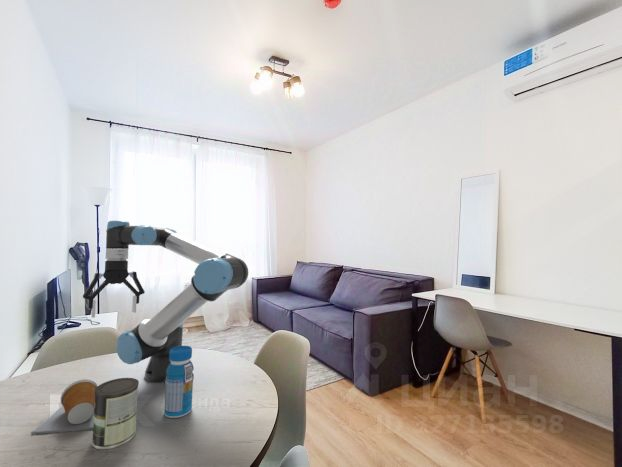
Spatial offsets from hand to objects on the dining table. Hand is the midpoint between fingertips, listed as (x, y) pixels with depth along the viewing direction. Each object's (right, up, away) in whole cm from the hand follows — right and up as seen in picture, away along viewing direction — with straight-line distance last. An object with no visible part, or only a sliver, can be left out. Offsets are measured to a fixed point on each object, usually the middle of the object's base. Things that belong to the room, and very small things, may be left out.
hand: (114, 314), depth 116 cm
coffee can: (+22, -25, -34) cm, 48 cm away
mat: (+6, -25, -23) cm, 34 cm away
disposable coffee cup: (+10, -21, -29) cm, 37 cm away
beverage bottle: (+34, -26, -20) cm, 47 cm away
